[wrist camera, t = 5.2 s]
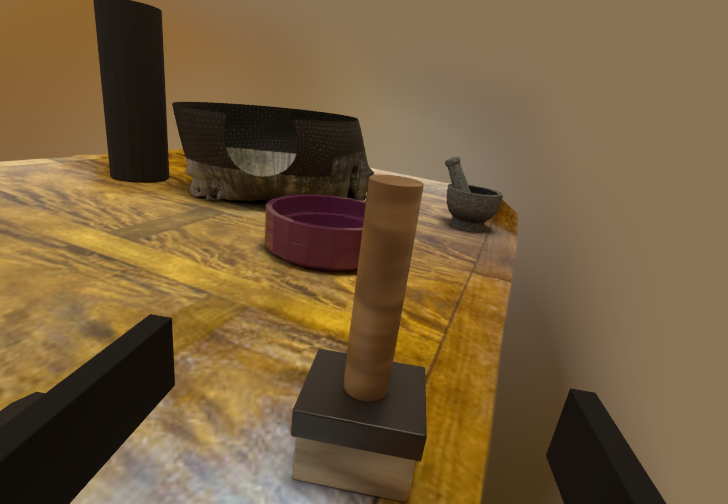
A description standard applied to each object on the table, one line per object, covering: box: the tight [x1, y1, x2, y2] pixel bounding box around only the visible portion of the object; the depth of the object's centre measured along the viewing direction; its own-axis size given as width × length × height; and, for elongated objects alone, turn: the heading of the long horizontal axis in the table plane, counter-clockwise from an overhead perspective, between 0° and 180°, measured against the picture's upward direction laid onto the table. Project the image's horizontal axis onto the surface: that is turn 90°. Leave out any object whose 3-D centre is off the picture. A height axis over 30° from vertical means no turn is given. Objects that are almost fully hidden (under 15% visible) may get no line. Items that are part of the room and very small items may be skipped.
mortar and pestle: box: [445, 157, 503, 232], centre depth 72 cm, size 11×9×12 cm
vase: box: [94, 0, 169, 182], centre depth 75 cm, size 10×10×30 cm
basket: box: [172, 102, 374, 201], centre depth 75 cm, size 28×35×16 cm
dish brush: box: [291, 175, 427, 502], centre depth 20 cm, size 6×5×16 cm
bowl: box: [264, 194, 366, 271], centre depth 53 cm, size 17×17×6 cm
